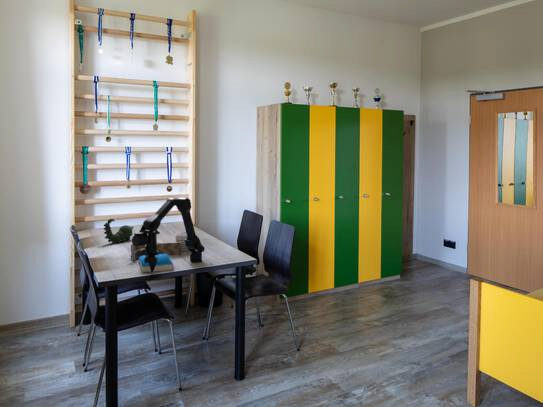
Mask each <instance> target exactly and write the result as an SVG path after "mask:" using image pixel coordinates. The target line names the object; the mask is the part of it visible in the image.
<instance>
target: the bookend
mask: <svg viewBox="0 0 543 407" xmlns="http://www.w3.org/2000/svg"><path fill="white" fill-rule="evenodd" d="M131 244H132V243H131ZM135 251H137V246H136V247H135V246H134V245H133V244H132V257H131V262H136V261H137V259H138V258H137V257H136V256H135Z"/></svg>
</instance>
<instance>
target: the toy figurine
mask: <svg viewBox="0 0 543 407" xmlns="http://www.w3.org/2000/svg"><path fill="white" fill-rule="evenodd" d="M115 221H116V220H115V219H114V218H110V219H108V220H107V222H105V223H104V224H103V227H104V228H103V230H104V232H103V233H104V235H106V236H104V239H107V242H108V243H118V244H120V243H121V242H125V241H131V237H133V229H134V227H135V226H130V225H127V224H126V225H125V224H124V225H122V226H121V227H119V229H118V231H117V232H116V233H114V232H113V231H112V226H111V224H112V222H115Z"/></svg>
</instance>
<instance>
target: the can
mask: <svg viewBox="0 0 543 407" xmlns="http://www.w3.org/2000/svg"><path fill="white" fill-rule="evenodd" d="M174 236H175V242H181V254H190V253H191V251H188V248H187V246H185V245H186V244H185V241H184V240H185V239H186V238H187V234H186V231H179V232H176V233H175V235H174Z"/></svg>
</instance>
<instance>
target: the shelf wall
mask: <svg viewBox="0 0 543 407" xmlns="http://www.w3.org/2000/svg"><path fill="white" fill-rule="evenodd" d="M145 245H146V244H145ZM145 245H141V246H137V250H139V249H142V248H145ZM157 250H158V251H159V254H167V255H168V256H169V257H171V256H182V253H181V242H176V241H173V242H172V241H171V242H168V241H166V242H157ZM130 252H131V253H130V254H131V255H130V257H131V258H132V243H130Z"/></svg>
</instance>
